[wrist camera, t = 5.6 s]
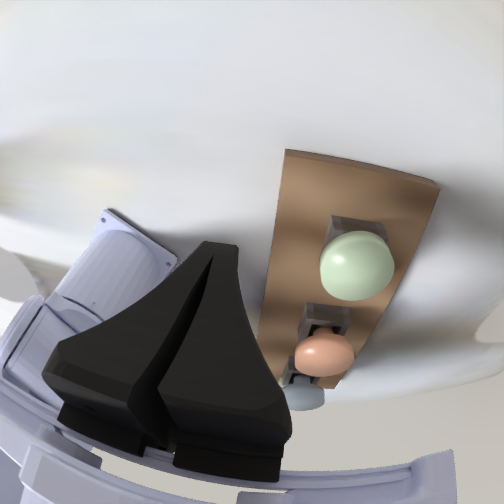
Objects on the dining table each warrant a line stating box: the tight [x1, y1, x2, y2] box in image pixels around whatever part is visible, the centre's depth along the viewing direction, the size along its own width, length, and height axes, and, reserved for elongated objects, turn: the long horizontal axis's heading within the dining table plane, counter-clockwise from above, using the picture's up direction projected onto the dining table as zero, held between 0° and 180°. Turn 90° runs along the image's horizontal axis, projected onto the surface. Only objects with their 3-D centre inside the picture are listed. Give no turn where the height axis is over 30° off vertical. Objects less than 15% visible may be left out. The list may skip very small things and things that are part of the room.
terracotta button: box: [295, 327, 354, 377], centre depth 22 cm, size 5×5×3 cm
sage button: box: [320, 231, 394, 301], centre depth 18 cm, size 5×5×3 cm
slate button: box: [281, 375, 324, 411], centre depth 28 cm, size 5×5×3 cm
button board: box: [257, 149, 440, 389], centre depth 25 cm, size 28×11×3 cm, turn 175°
